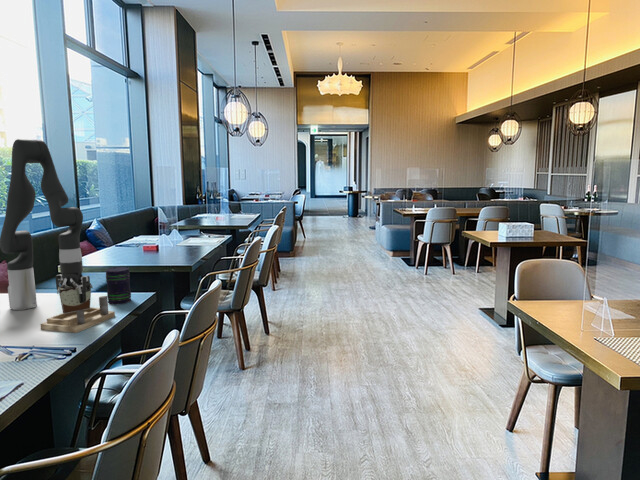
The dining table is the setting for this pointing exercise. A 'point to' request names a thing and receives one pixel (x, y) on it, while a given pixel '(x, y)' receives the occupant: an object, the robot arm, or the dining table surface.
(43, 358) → the dining table surface
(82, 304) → the half lattice cake
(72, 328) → the carrier board
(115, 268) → the storage jar
